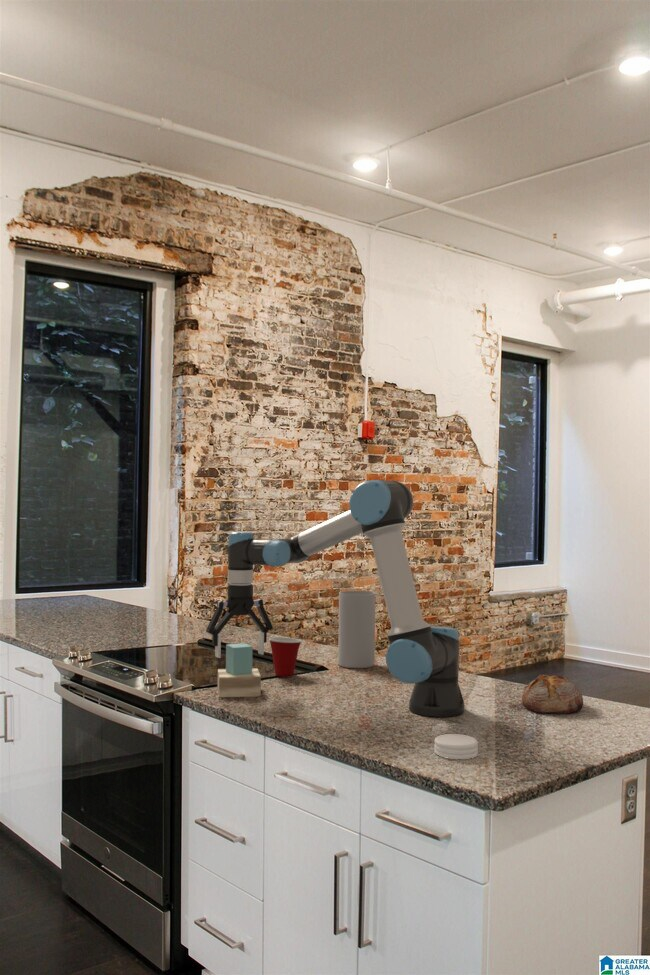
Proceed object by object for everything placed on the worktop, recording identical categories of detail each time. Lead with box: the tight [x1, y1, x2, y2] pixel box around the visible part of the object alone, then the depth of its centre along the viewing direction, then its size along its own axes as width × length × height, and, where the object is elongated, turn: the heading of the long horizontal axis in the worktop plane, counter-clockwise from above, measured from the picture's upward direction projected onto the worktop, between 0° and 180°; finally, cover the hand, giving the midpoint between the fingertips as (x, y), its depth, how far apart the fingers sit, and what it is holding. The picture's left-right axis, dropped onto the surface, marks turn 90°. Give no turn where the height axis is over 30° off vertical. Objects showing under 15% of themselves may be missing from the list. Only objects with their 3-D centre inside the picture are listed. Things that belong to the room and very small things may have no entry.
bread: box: [521, 674, 584, 715], centre depth 247 cm, size 16×20×10 cm
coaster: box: [433, 733, 479, 760], centre depth 202 cm, size 10×10×4 cm
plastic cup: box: [268, 636, 303, 678], centre depth 284 cm, size 11×11×12 cm
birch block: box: [217, 667, 262, 698], centre depth 260 cm, size 12×12×6 cm
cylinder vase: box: [337, 590, 376, 669], centre depth 302 cm, size 12×12×25 cm
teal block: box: [225, 643, 254, 675], centre depth 261 cm, size 6×6×8 cm
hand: (239, 655), depth 260 cm, fingers open, 13 cm apart
